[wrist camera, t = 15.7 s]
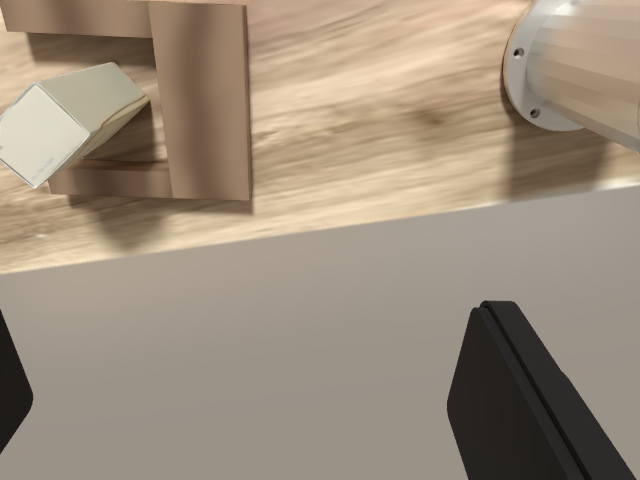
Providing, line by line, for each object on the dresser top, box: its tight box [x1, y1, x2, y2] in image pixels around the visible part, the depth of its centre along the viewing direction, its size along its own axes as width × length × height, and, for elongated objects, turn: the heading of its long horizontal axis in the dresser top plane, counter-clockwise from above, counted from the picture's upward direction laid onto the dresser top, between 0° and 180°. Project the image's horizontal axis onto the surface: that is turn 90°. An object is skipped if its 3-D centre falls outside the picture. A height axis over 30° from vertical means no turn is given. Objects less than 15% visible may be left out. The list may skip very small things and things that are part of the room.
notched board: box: [0, 0, 252, 201], centre depth 38 cm, size 18×16×2 cm
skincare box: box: [0, 62, 150, 188], centre depth 33 cm, size 6×4×12 cm
